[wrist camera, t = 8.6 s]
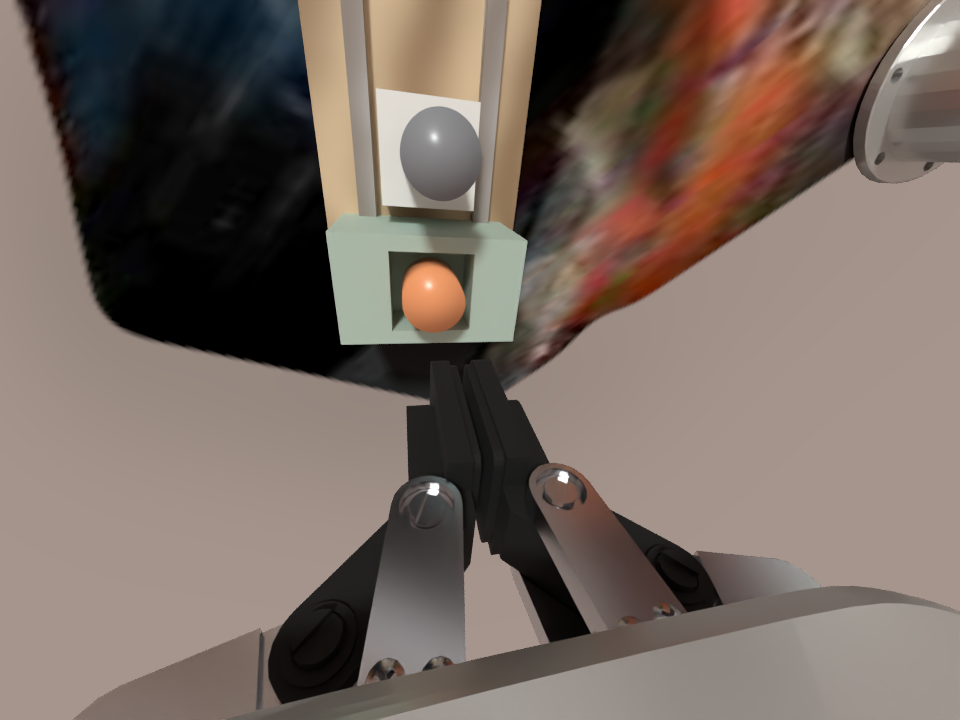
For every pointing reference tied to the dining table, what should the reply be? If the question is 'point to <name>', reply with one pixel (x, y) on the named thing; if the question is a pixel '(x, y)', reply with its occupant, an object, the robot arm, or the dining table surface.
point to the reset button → (432, 295)
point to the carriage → (428, 150)
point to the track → (418, 90)
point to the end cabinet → (401, 241)
